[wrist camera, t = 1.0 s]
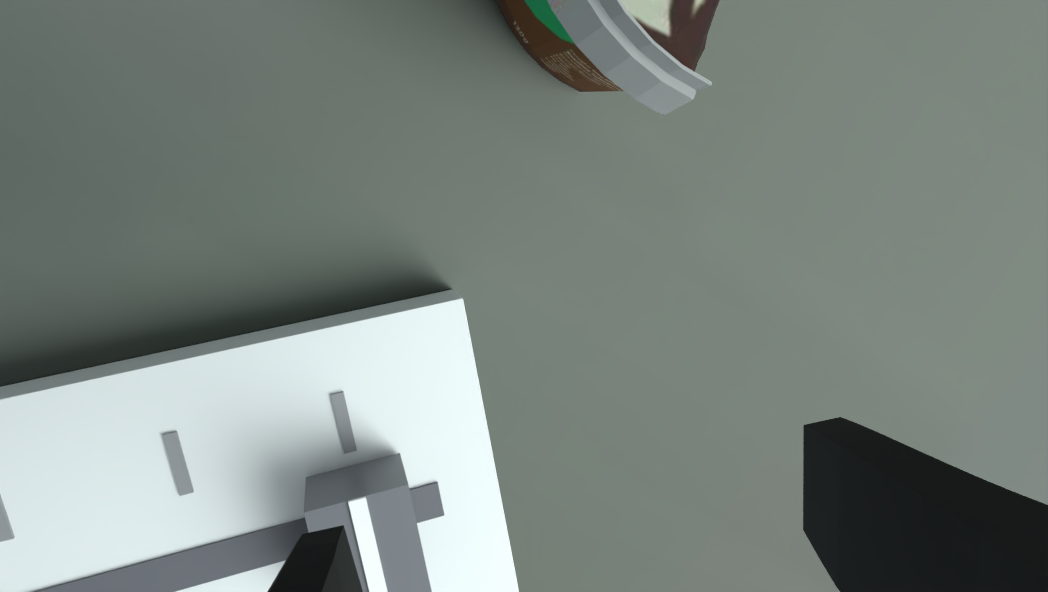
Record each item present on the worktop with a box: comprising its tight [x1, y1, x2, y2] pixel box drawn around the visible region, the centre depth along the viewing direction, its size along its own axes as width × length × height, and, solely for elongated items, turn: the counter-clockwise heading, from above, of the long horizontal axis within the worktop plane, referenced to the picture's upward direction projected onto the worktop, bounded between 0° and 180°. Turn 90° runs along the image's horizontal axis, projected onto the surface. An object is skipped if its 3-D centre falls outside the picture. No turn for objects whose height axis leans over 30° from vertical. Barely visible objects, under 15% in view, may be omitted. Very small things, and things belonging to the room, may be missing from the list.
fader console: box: [0, 289, 519, 592], centre depth 24 cm, size 13×23×2 cm, turn 100°
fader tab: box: [304, 453, 432, 592], centre depth 23 cm, size 4×3×3 cm
